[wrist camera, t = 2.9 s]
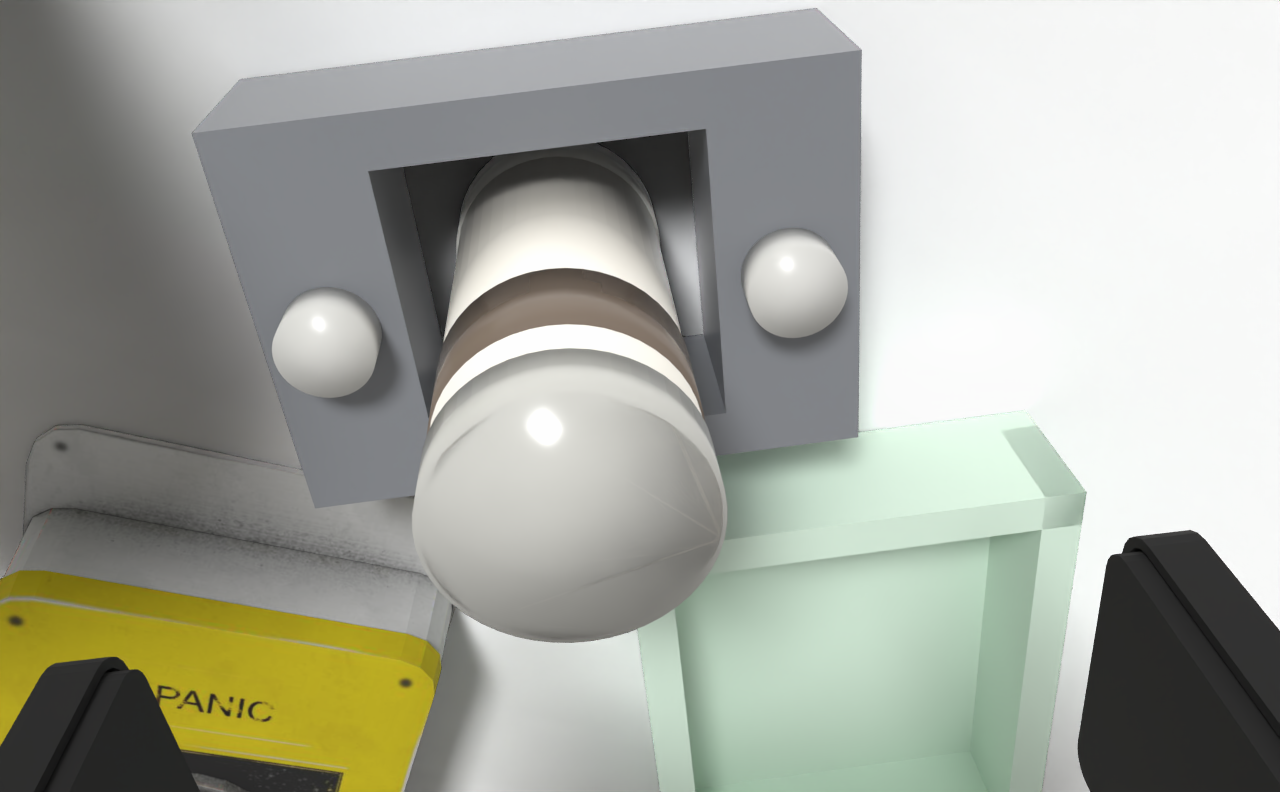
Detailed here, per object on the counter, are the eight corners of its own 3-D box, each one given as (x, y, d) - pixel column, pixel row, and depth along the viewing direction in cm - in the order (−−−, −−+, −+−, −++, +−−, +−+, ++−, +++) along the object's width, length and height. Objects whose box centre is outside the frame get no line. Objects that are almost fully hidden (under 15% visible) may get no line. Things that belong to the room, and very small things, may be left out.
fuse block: (239, 79, 18) (176, 150, 15) (816, 7, 18) (876, 63, 15) (340, 419, 22) (307, 536, 19) (820, 357, 22) (870, 462, 19)
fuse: (441, 149, 19) (379, 415, 12) (645, 123, 19) (717, 372, 12) (478, 329, 21) (446, 660, 13) (663, 306, 21) (735, 621, 14)
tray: (616, 464, 23) (626, 553, 21) (1025, 410, 23) (1086, 492, 21) (662, 794, 29) (674, 895, 26) (989, 749, 29) (1033, 845, 26)
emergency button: (-61, 1021, 25) (-63, 536, 18) (16, 856, 29) (41, 400, 22) (338, 1055, 27) (477, 632, 20) (362, 897, 31) (486, 493, 24)
